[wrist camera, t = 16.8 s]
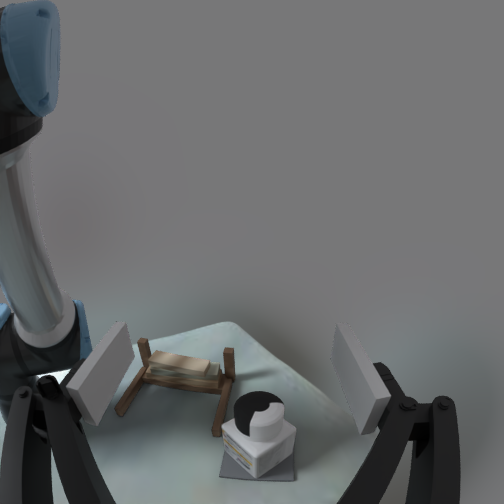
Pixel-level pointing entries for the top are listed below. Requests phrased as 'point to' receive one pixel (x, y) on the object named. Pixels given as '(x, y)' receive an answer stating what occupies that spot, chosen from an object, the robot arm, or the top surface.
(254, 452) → the container
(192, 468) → the top surface
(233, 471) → the rubber mat
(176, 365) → the offcut stack
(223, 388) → the walnut rack
